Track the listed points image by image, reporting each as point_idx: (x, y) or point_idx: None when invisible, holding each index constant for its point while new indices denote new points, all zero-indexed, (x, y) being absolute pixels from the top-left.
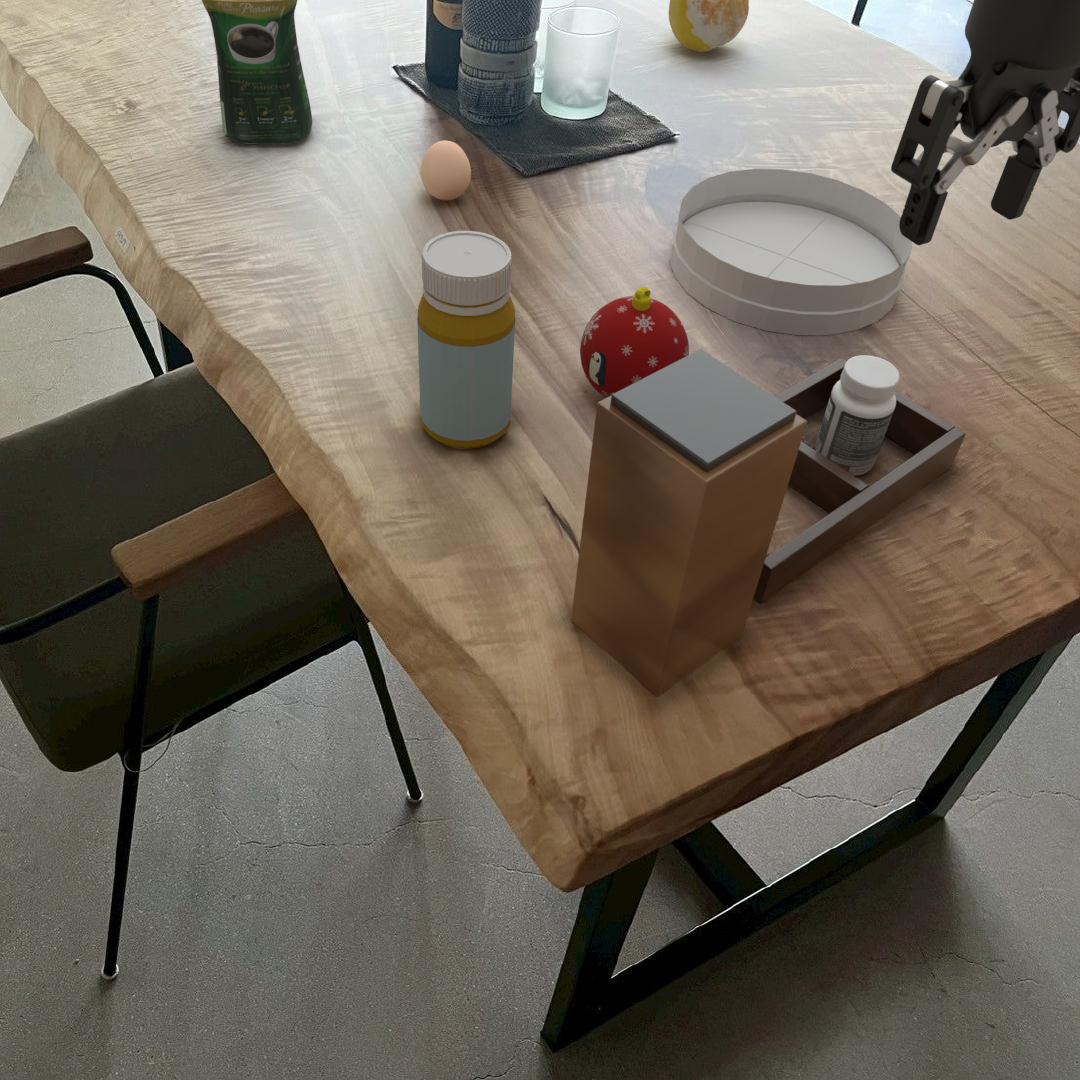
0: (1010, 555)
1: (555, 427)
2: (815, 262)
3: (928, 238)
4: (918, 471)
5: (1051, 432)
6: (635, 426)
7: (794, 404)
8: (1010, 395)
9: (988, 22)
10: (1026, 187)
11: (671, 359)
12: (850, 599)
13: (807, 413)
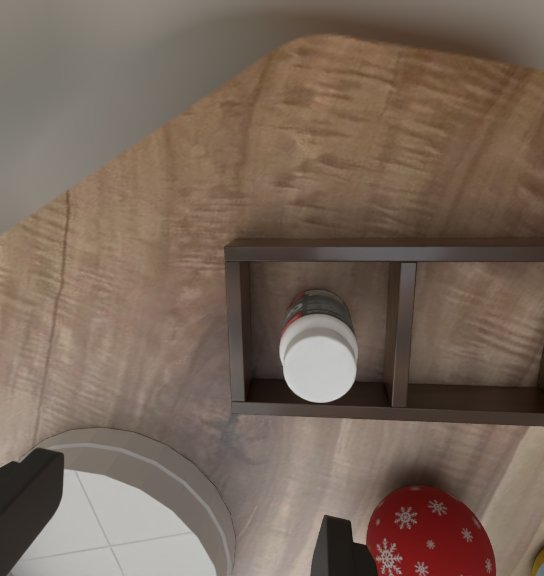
0: (302, 113)
1: (509, 516)
2: (90, 523)
3: (337, 526)
4: (318, 244)
5: (89, 203)
6: None
7: None
8: (76, 268)
9: None
10: (3, 512)
11: (442, 524)
12: (498, 183)
13: None
